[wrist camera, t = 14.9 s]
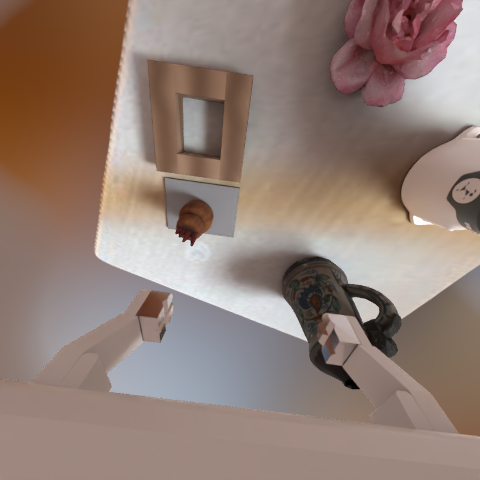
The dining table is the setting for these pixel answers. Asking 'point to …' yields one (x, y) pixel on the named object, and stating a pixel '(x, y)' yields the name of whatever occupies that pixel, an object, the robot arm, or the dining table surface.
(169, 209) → the slate mat
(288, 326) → the dining table surface
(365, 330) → the beer stein
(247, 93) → the walnut socket block
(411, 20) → the flower
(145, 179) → the dining table surface
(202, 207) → the wooden figurine
